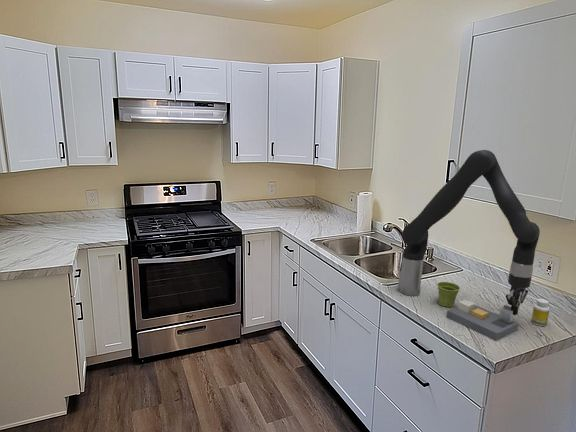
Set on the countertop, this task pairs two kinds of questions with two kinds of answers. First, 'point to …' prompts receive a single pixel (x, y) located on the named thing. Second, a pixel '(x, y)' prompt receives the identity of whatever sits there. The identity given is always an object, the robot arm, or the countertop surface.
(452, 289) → the plant pot
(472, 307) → the ivory button
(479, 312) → the amber button
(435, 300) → the countertop surface
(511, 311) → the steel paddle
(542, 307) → the supplement bottle
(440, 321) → the countertop surface
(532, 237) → the robot arm
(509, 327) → the panel
